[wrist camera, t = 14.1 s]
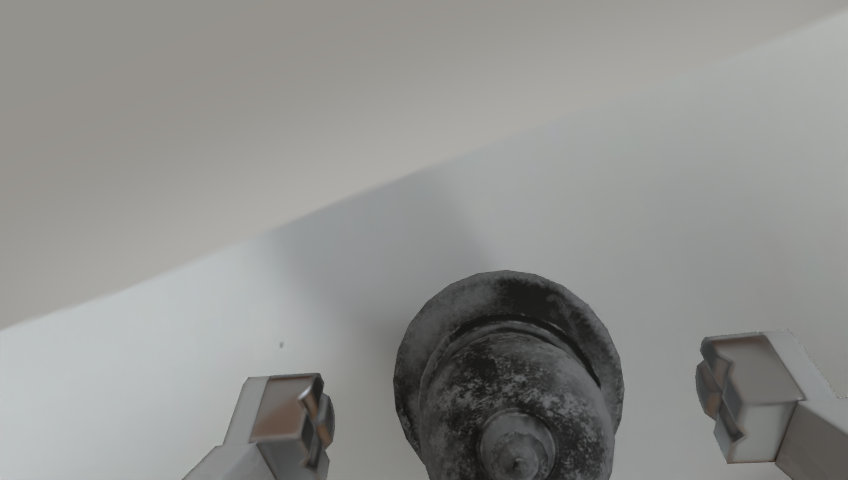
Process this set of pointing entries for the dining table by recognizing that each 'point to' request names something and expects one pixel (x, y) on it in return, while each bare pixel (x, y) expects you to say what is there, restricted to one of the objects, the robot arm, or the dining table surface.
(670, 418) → the dining table surface
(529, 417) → the stone finial
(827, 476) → the robot arm
